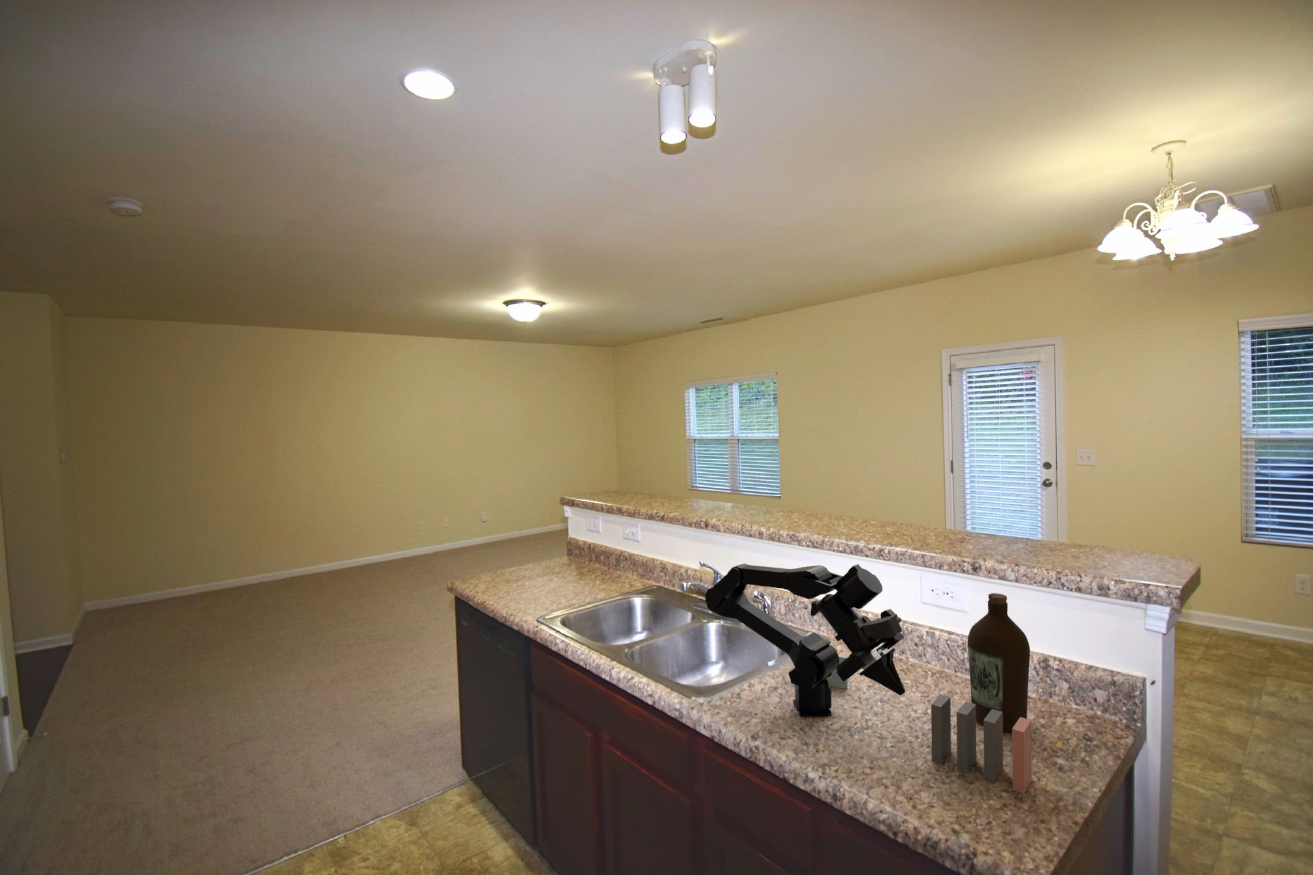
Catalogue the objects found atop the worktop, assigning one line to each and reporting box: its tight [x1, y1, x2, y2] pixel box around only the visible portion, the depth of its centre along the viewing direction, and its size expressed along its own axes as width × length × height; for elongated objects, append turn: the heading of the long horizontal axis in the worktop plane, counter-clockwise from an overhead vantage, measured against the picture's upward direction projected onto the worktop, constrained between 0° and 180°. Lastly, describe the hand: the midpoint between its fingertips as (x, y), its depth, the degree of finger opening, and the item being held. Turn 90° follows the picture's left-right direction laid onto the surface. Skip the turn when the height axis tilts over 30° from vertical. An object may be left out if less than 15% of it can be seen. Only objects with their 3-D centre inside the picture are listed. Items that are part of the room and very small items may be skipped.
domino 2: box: [956, 701, 977, 774], centre depth 102 cm, size 2×5×10 cm, turn 136°
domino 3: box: [983, 709, 1004, 784], centre depth 99 cm, size 2×5×10 cm, turn 136°
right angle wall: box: [793, 631, 849, 690], centre depth 139 cm, size 12×12×8 cm
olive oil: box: [967, 592, 1031, 734], centre depth 116 cm, size 11×11×25 cm
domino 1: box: [930, 693, 952, 765], centre depth 104 cm, size 2×5×10 cm, turn 136°
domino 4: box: [1011, 717, 1033, 795], centre depth 96 cm, size 2×5×10 cm, turn 136°
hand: (903, 693), depth 109 cm, fingers closed
